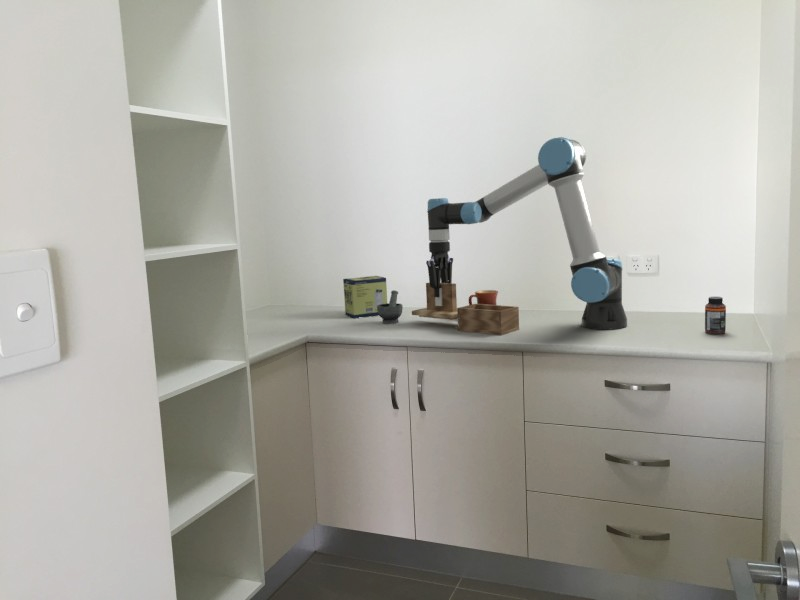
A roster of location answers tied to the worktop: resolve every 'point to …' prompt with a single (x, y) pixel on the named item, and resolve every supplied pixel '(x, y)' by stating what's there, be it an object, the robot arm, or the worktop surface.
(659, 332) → the worktop surface
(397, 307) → the mortar and pestle
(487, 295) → the mug
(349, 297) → the protein box
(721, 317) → the supplement bottle
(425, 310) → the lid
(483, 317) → the box
